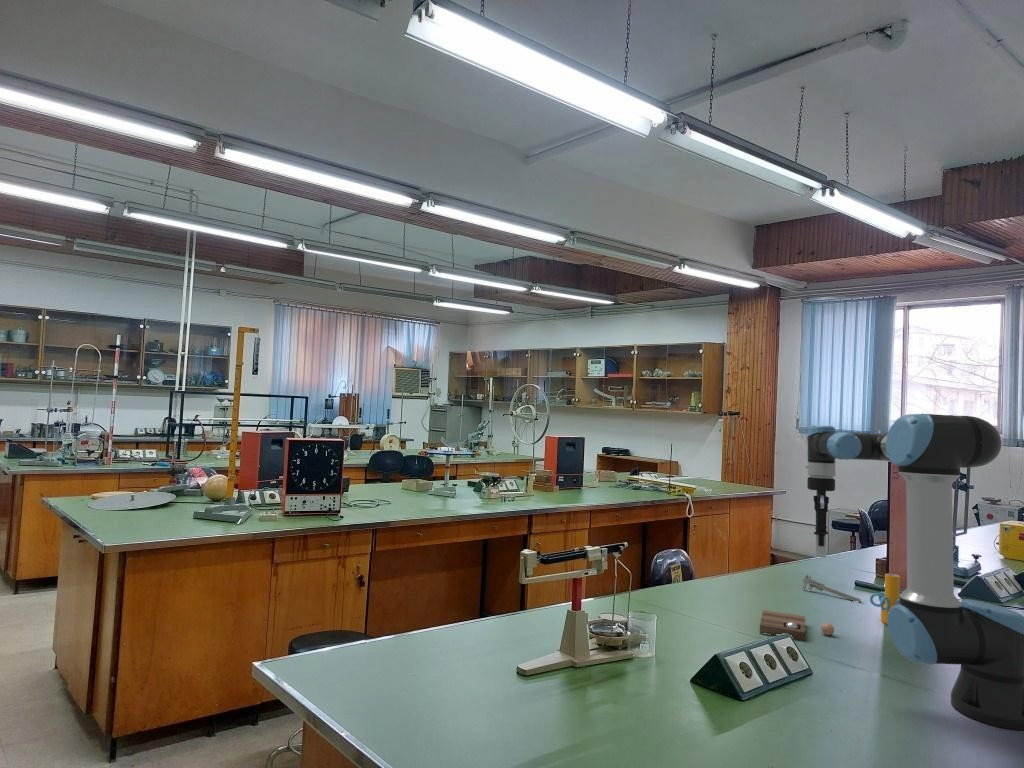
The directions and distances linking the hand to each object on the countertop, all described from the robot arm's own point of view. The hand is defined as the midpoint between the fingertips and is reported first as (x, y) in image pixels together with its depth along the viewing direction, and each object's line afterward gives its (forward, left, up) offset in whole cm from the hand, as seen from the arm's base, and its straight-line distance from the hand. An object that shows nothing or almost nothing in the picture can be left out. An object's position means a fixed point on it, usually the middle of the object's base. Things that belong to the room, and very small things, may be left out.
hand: (820, 556), depth 189 cm
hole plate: (-3, +10, -22) cm, 25 cm away
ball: (-1, -2, -21) cm, 21 cm away
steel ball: (-6, +8, -21) cm, 23 cm away
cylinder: (+23, -21, -23) cm, 38 cm away
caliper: (+47, -5, -23) cm, 52 cm away
